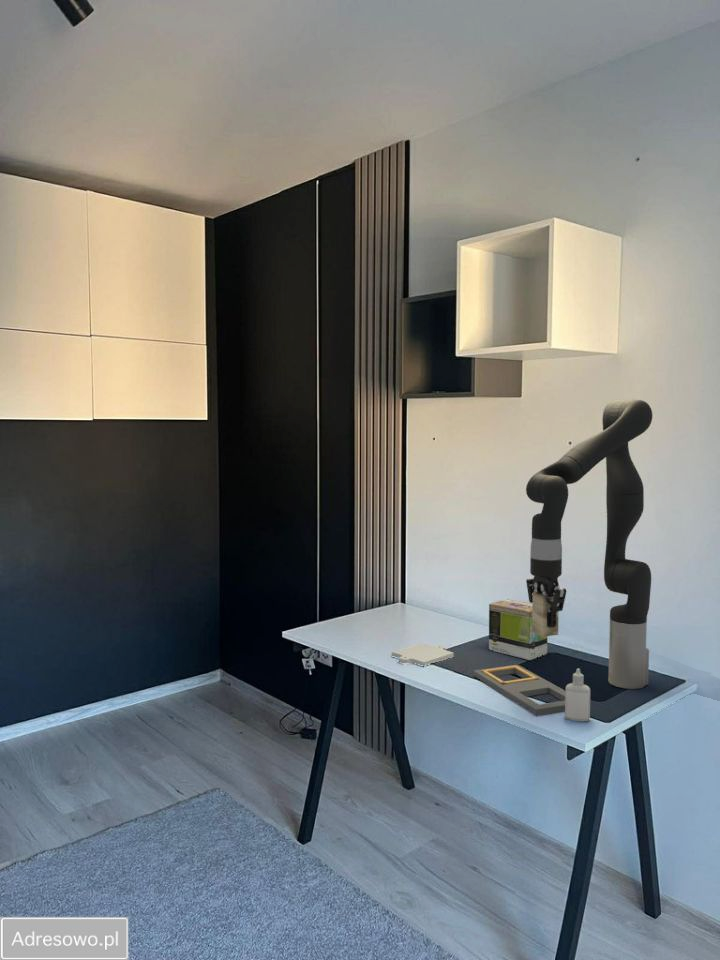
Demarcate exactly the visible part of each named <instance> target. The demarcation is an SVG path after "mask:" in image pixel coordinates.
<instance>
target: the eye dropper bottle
mask: <svg viewBox="0 0 720 960" xmlns="http://www.w3.org/2000/svg"><path fill="white" fill-rule="evenodd" d="M584 676H585V675H584V674H582V673H581V668H576V671H575V672H574V673H572V682H571V683H568V684H566V686H565V711H564V717H565V719H567V720H569V721H573V722H581V723H583V722H584V723H585V722H589V721H590V719H591V688H590V686H588V685H587V684H584Z"/></svg>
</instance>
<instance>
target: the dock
mask: <svg viewBox="0 0 720 960" xmlns="http://www.w3.org/2000/svg"><path fill="white" fill-rule="evenodd" d="M507 675H508V676H509V675H516V676H518V677H520V678H518V679H513V680H506V681H504V680H502V679H501V678H499V677H500V676H501V677H502V676H507ZM473 677H475V678H476V677H477V678H476V679H478V680H479V679H480V680H479V681H481V682H482V681H483V682H482V683H484V684H486V685H487V686H489V687H491V688H492V689H494V690H495V691H497V692H498V693H500V694H502V695H503V696H505V697H506V698H508V699H509V700H511V701H512V702H514V703H515V704H517V705H519V706H520V707H521V708H523V709H525V710H527V711H528V712H529V713H530V714H533V715H535V716H543V715H549V714H555V713H560V712H562V713H563V712H565V691H566V689H565V690H564V689H563V688H561V687H559V686H557V685H555V684H554V683H552V682H551V681H548V680H546V679H545V678H543V677H541V676H539V675H537V674H536V673H533V672H532V671H530V670H528V669H526V668H525V667H523V666H521V665H519V664H511V665H505V666H504V665H503V666H497V667H491V668H490V667H489V668H483V669H474V670H473ZM546 694H550V695H551V696H553V697H555V698H557V699H558V701H554V702H552V701H551V702H546V703H540V704H539V703H537V702H536V701H535V700H533V699H530V698H529V697H532V696H533V697H534V696H539V695H546Z"/></svg>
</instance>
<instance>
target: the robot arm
mask: <svg viewBox="0 0 720 960" xmlns="http://www.w3.org/2000/svg"><path fill="white" fill-rule="evenodd" d="M652 421H653V410H652V407H651V406H650V404H649V403H648V402H646V401H645V400H642V399H636V398H635V399H633V398H632V399H630V398H629V399H612V400H610V401H609V402H607V404H606V405H605V406H604V409H603V412H602V421H601V422H602V431H600V432H599V433H597V434H595V435H593V436H592V435H591V436H590V437H589V438H587V439H585V440H583V441H581V442H579V443H577V444H576V445H575V446H573V447H572V448H571V449H569V450H568V451H567V452H566V453H565V454H564V455H562V456H561V457H560V458H559V459H558V460H557V461H555V462H553V463H551V464H549V465H548V466H546V467H545V468H543V469H540V470H538V471H537V472H536V473H535V474H533V475H532V476H531V477H530V479H529V480H528V482H527V484H526V487H525V492H526V496H527V497H528V499H529V500H531V501H532V502H534V503H538V504H543V505H542V509H541V512H540V513H537V514H534V515H533V517H532V520H531V542H530V555H529V557H530V560H529V561H530V563H529V565H530V567H529V568H530V569H529V571H530V575H531V576H533V578H527V579H526V580H525V581H526V582H525V583H526V588H527V597H528V601H529V602H528V603H531V604H533V592H535V593H540V594H543V596H545V602H546V603H547V627H549V628H551V627H555V626H556V613H557V612H558V611H559V612H562V611H564V605H565V600H566V596H567V589H566V588H564V587H563V588H561V587H560V585H559V580H558V579H559V578H560V576H562V574H563V570H562V569H563V567H562V566H563V565H562V564H563V544H562V521H563V517H564V514H565V510H566V507H567V503H568V498H569V488H568V487H569V486H568V485H571V484H575V483H577V482H578V481H580V480H581V479H582V478H584V477H585V475H587V474H588V473H589V472H590V471H591V470H592V469H593V468H594V467H596V466H597V465H598V464H599V463H600V462H601V461H603V460H604V459H605V466H606V467H605V469H606V471H605V472H606V490H605V491H606V495H605V496H606V497H605V499H606V541H605V543H606V544H605V553H604V554H605V556H604V564H603V580H604V584H605V586H606V589H608V590H609V591H610V592H613V593H616V594H622V595H627V600H626V603H624V604H619V605H615V606H612V607H611V608H610V609H609V634H608V635H609V636H608V637H609V638H608V639H609V643H608V679H607V680H608V683H609V684H610V685H612V686H614V687H618V688H622V689H627V690H634V689H635V690H637V689H642V688H644V687H645V686H647V685H649V669H650V668H649V666H650V665H649V664H650V663H649V662H650V650H649V648H647V625H648V624H647V623H648V613H649V609H650V602H651V601H650V600H651V590H652V589H651V588H652V571H651V567H650V566H649V564H647V563H646V562H643V561H640V560H634V559H628V558H626V549H627V548H626V547H627V542H628V539H629V537H630V534H631V533H632V531H633V530H634V528H635V527H636V525H637V524H638V522H639V521H640V519H641V517H642V515H643V513H644V508H645V506H644V504H645V503H644V502H645V500H644V499H645V496H644V495H645V494H644V492H645V491H644V483H643V481H642V479H641V476H640V474H639V471H638V470H637V468H636V465H635V464H634V462H633V459H632V458H631V454H630V449H629V448H630V447H629V443H630V442H631V441H632V440H634V439H636V438H637V437H639V436H641V435H642V434H644V433H645V432H646V431H647V430H648V429H649V428H650V426H651V424H652ZM553 596H554V598H553V599H548V597H553ZM551 602H553V603H552V607H551V604H550V603H551ZM558 603H559V606H558V605H557V604H558Z"/></svg>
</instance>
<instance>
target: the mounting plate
mask: <svg viewBox="0 0 720 960" xmlns="http://www.w3.org/2000/svg"><path fill="white" fill-rule="evenodd" d="M454 655H455V654H454V651H449V650H446V646H443V645H435V646H434V645H430V644H426V643H422V642H421V643H417V644H415V645H411V646H407V647H404V648H401V649H398V650H393V651H391V657H392V656H395V657H398V658H399V659H398V663H399V662H401V663H416V664H420V665H423V666H425V665H428V664H431V663H435V662H439V661H442V662H444V661H443V660H445V661H447V660H446V659H448V658H451V659H453V658H452V657H454ZM448 660H449V659H448ZM439 663H440V662H439Z"/></svg>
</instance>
